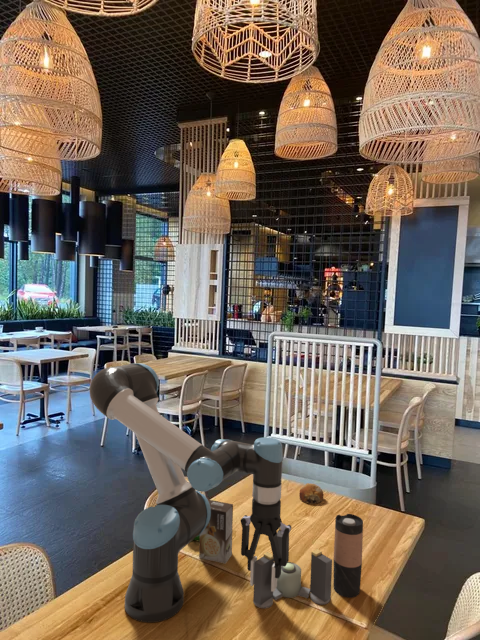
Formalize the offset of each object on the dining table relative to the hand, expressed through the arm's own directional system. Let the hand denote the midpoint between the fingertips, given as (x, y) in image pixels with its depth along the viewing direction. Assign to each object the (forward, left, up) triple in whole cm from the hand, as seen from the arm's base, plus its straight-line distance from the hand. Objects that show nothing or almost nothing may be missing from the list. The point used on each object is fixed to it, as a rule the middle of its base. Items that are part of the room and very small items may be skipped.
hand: (263, 585), depth 117 cm
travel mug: (+25, -1, -5) cm, 25 cm away
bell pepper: (-9, +37, -5) cm, 38 cm away
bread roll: (+42, +55, -5) cm, 70 cm away
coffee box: (-6, +25, -5) cm, 26 cm away
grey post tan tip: (+15, -3, -4) cm, 16 cm away
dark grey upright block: (0, 0, -4) cm, 4 cm away
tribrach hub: (+9, +3, -5) cm, 10 cm away
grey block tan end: (+10, +12, -4) cm, 16 cm away
